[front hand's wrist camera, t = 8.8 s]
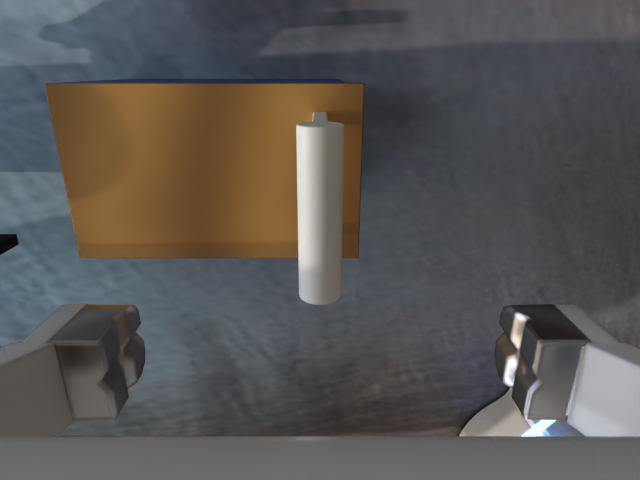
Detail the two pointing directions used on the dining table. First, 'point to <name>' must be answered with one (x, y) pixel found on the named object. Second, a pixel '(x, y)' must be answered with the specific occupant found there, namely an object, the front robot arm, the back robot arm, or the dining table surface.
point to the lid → (215, 172)
